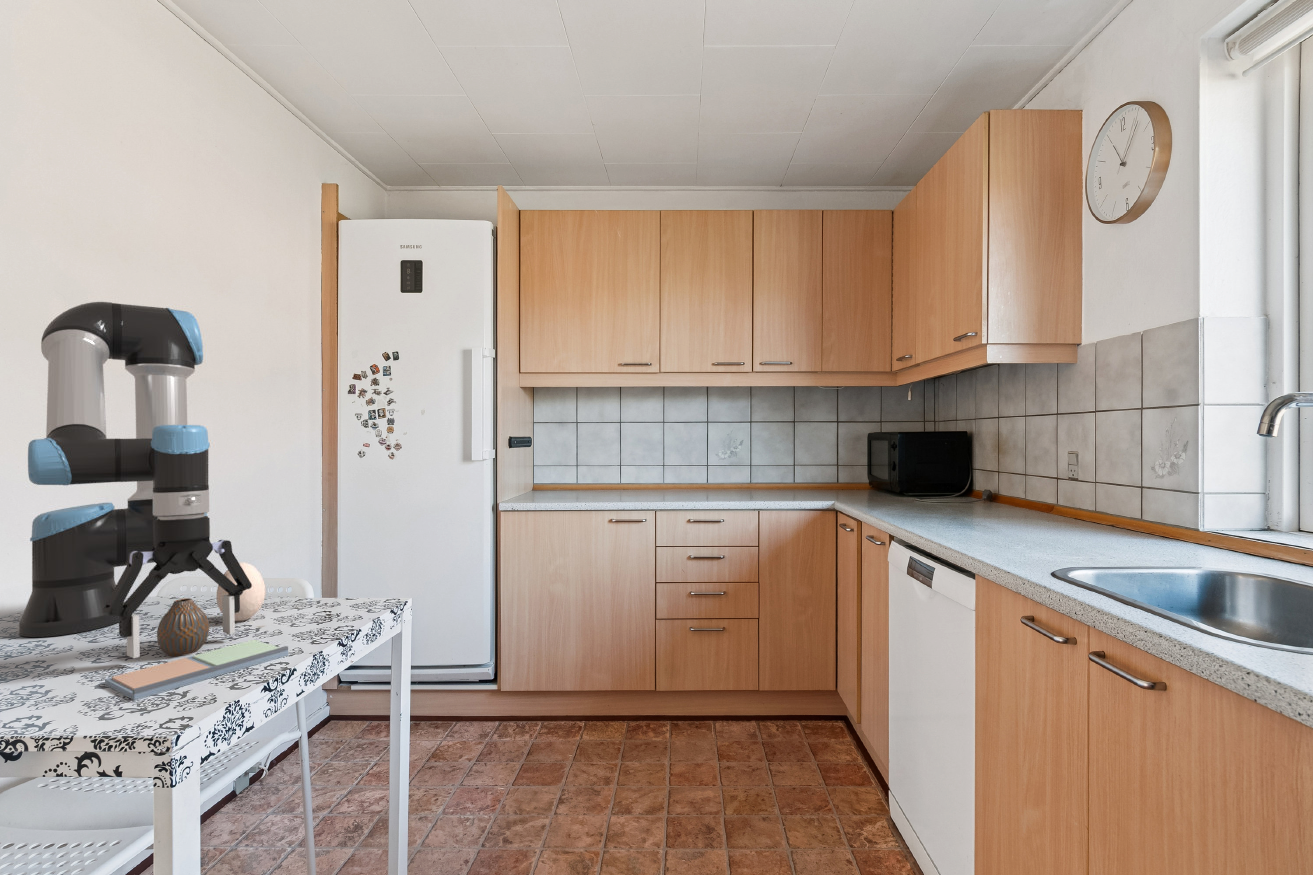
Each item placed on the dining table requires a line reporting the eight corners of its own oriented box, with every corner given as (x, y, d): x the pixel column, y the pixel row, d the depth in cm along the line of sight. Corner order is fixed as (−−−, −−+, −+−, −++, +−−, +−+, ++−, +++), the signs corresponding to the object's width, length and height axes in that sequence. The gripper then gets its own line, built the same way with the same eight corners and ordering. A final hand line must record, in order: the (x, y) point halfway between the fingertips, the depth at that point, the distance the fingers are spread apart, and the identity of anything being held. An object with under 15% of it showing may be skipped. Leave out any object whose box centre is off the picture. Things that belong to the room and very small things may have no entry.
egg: (273, 618, 122) (272, 561, 122) (228, 628, 115) (227, 568, 115) (253, 612, 126) (253, 557, 126) (209, 622, 119) (208, 564, 119)
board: (105, 684, 89) (104, 674, 89) (254, 644, 105) (254, 636, 105) (134, 700, 83) (134, 689, 83) (288, 655, 100) (288, 646, 100)
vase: (180, 660, 98) (179, 606, 98) (146, 658, 99) (145, 604, 100) (219, 646, 105) (218, 595, 105) (186, 644, 106) (185, 594, 106)
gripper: (92, 527, 90) (94, 671, 90) (271, 509, 111) (273, 627, 111) (75, 524, 94) (77, 663, 94) (251, 508, 115) (253, 621, 115)
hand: (183, 643), depth 102 cm, fingers open, 13 cm apart
